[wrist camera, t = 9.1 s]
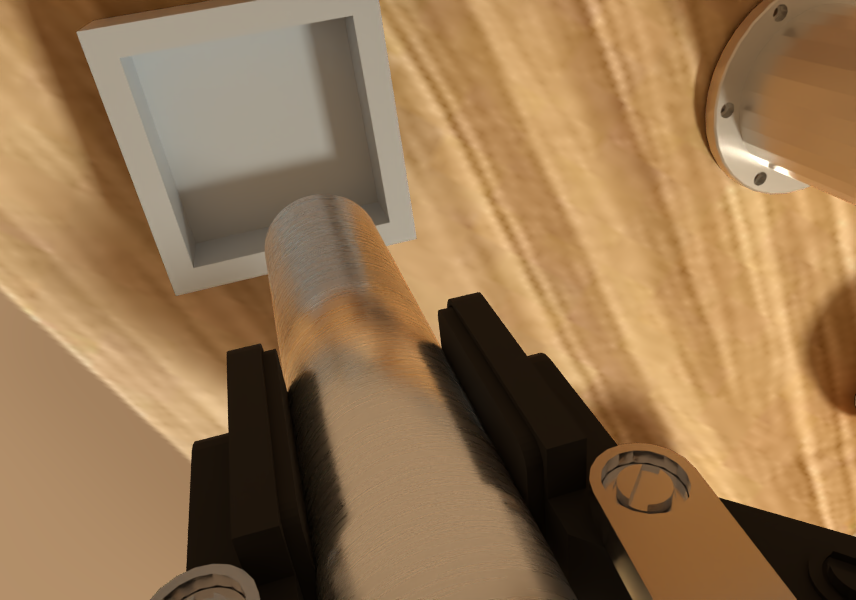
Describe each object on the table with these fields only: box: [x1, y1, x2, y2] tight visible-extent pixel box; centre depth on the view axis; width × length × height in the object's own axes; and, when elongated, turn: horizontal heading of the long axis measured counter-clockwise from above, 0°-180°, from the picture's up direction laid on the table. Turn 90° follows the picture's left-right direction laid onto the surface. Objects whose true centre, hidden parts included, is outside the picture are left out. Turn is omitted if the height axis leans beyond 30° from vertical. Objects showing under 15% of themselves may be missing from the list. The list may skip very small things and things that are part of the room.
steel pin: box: [265, 194, 578, 600], centre depth 12 cm, size 3×3×12 cm
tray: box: [76, 0, 417, 296], centre depth 32 cm, size 12×12×4 cm
